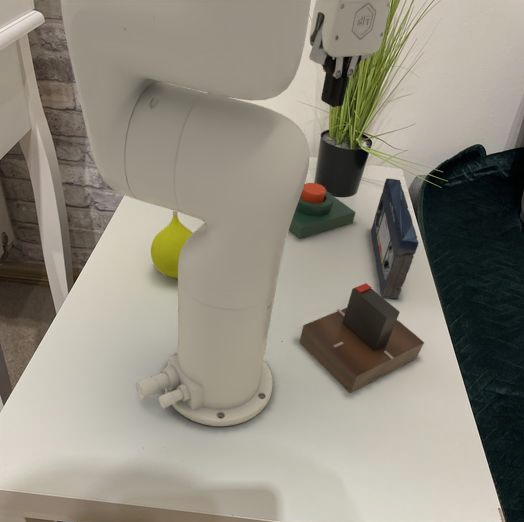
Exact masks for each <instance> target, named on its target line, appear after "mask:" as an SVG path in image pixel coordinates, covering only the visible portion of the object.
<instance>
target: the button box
mask: <svg viewBox="0 0 524 522" xmlns="http://www.w3.org/2000/svg"><path fill="white" fill-rule="evenodd" d="M355 217H356V211H355V210H353V208H350V207H349V206H348V205H347V204H345V203H344V202H342V201H341V200H339V198H337V197H336V196H334V195H332V194H331V193H330V192H329V191H328V190H326V193H325V198H324V201H323V202H321V203H311V202H308V201H305V200H303V199H302V198H301V196H300V199H299V202H298V204H297V207H296V210H295V213H294V216H293V219H292V221H291V224H290V227H289V231H288V232H290V233H291V234H292V235H293V236H295V238H297V239H298V240H302V239H306V238H309V237H312V236H315V235H319V234H322V233H325V232H329V231H331V230H335V229H338V228H341V227H344V226H348V225H351V224H353V223H354V219H355Z"/></svg>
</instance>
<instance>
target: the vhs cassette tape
mask: <svg viewBox="0 0 524 522" xmlns="http://www.w3.org/2000/svg"><path fill="white" fill-rule="evenodd" d="M370 236H371V242H372V250H373V254H374V255H373V256H374V261H375V267H376V272H377V278H378V284H379V289H380V296H381V297H382V298H388V299H396V300H398V299H399V297H400V294H401V291H402V288H403V286H404V284H405V282H406V279H407V275H408V273H409V271H410V268H411V265H412V263H413V259H414V255H415V254H416V252H417V249H418V247H419V240H418V235H417V232H416V228H415V225H414V223H413V217H412V215H411V212H410V210H409V206H408V202H407V199H406V195H405V192H404V190H403V187H402V183H401V179H395V178H386V179H385V181H384V184H383V188H382V192H381V195H380V199H379V201H378V204H377V208H376V212H375V215H374V220H373V222H372V225H371V229H370Z"/></svg>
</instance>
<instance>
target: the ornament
mask: <svg viewBox="0 0 524 522" xmlns="http://www.w3.org/2000/svg"><path fill="white" fill-rule="evenodd" d="M178 213H179V212H178V211H174V210H172V218H171V221H170V223H169V224H168V225H166V227H164V228H163V229H161V230H160V231H159V232H158V233H157V234H156V235H155V236H154V238H153V239H152V241H151V246H150V257H151V261H152V263H153V265H154V267H155V268H156V269H157V270H158V271H159V272H160V273H161V274H163V275H164V276H166V277H170V278H172V279H173V278H174V279H178V261H179V256H180V252H181V250H182V248H183V246H184V244H185V242H186V241H187V240H188V238H189V237H190V236H191V235H192V234H193V233H194V232H193V231H192V230H190V229H189V228H187V227H186V226H185V225H184V224H183V223H181V221H180V219H179V216H178Z"/></svg>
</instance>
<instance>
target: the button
mask: <svg viewBox="0 0 524 522" xmlns="http://www.w3.org/2000/svg"><path fill="white" fill-rule="evenodd" d="M326 191H327V189H326V187H325V186H323V185H322V184H320V183H316V182H305V184H304V187H303V190H302V193H301V198H302V199H303V200H305V201H308V202H311V203H321V202H323V201H324V198H325V193H326Z"/></svg>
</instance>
